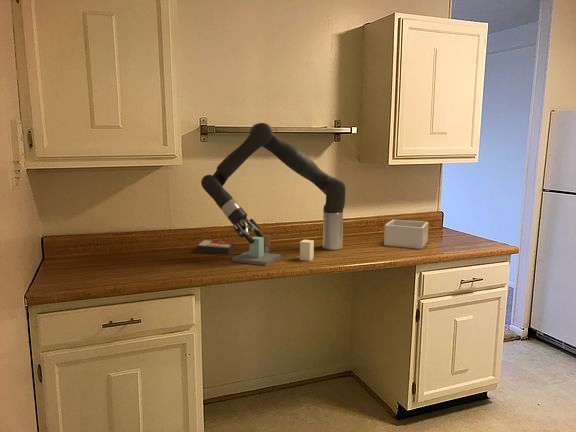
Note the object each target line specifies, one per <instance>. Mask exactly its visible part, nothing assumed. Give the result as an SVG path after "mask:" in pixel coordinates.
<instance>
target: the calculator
mask: <svg viewBox="0 0 576 432" xmlns="http://www.w3.org/2000/svg"><path fill="white" fill-rule="evenodd" d="M234 249H235V243H234V241H223V240H207V239H204V240H203V241H201V242H200V243H198V244H197V245H196V253H197V254H217V255H218V254H220V255H221V254H222V255H229V254H230V253H232V251H234Z"/></svg>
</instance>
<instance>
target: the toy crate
mask: <svg viewBox="0 0 576 432" xmlns="http://www.w3.org/2000/svg"><path fill="white" fill-rule="evenodd" d="M383 238H384V239H383V241H384V242H383V246H388V247H399V248H409V249H419V250H422V249H423V248H424V247H425V245H427V243H428V241H429V240H428V238H429V221H420V220H419V221H418V220H417V221H416V220H406V219H405V220H404V219H403V220H402V219H392V220H390V221H388V222H387V223H386V224H384V237H383Z"/></svg>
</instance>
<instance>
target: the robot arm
mask: <svg viewBox="0 0 576 432" xmlns="http://www.w3.org/2000/svg"><path fill="white" fill-rule="evenodd" d="M261 147H262V148H264V149H266V151H269V152H270V153H271V154H273V155H274V156H275V157H276V158H277V159H278V160H280V162H281V163H283V164H285V165H286V166H287V167H288V168H289V169H290V170H292V171H294V173H296V174H297V175H299V176H300V177H302V178H304V179H306V180H308V181H309V182H310V183H312V184H313V185H314V186H316V188H318V189H319V190H320V191H321V192H322V193H323V194H324V195H325V204H324V205H323V211H322V213H323V216H322V220H323V221H322V222H323V223H322V224H323V225H322V248H323V249H325V250H333V251H334V250H341V249H343V231H344V229H343V228H344V227H343V226H344V208H345V204H346V184H345V182H344V181H343V180H342V179H340V178H337V177H333V176H332V175H330V174H328V173H326V172H325V171H323V170H322V169H321V168H320V167H319V166H318V165H317V164H316V163H315V162H314V161H313V159H312V158H310V156H308V155H307V154H306V153H304V152H303V151H302V150H301V149H299V148H297V147H296V146H294V145H292V144H290V143H288V142H286V141H284V140H283V139H281V138H280V137H278V136H277V134H275V133H274V131H273V129H272V127H271V126H270V125H269V124H268V123H266V122H259V123H255V124H253V125H252V126H251V128H250V130H249V135H248V136H247V138H246V139H245V140H244V142H242V143H241V144H239V146H238V147H236V149H234V150H233V151H232V152H231V153H230V154H228V155H226V157H224V159H223V160H222V161H220V163H219V164H218V165H217V167H216V170H215V172H214V173H213V175H212V174H206V175H204V176H203V177H202V178H201V182H200V184H201V188H202V189H203V190H204V191H205V192H206V193H207V194H208V195H209V196H210V198H211V199H213V201H214V202H215V204H216V205H217V207H219V209H220V210H221V211H222V212H223V214H224V215H225V217H226V218H227V220H229V222H230V223H231V224H232V225H233V229H234V231H236V234H238V235H239V237H240V238H243V239H246V240H247V242H248V243H250V244H253V243H254V239H253V238H252V237H253V236H251V235H250V233H253V234H254V235H255V237H264V236H263V235H264V234H263V235H262V232H261V231H260V229H261V227H260V226H259V225H258V223H256V221H255V220H254V219H253V218H250V219H248V218H247V217H248V213H247V212H246V211H245V209H244V208H242V206H241V205H240V204H239V203H238V201H236V200H235V199H234V198H233V197H232V195H231V194H230V193H229V192H228V191H227V190H226V189H225V188H224V187H223V186H224V185H225V184H226V182H227V181H228V179H229V178H230V177H231V176H232V175H233V174H234V173H235V172H237V170H238V169H239V168H240V167H241V166H242V165H243V164H244V163H245V162H246V160H248V159H249V158H250V157H251V156H252V155H253V154H254V153H255V152H256V151H258V150H259V149H260V148H261ZM249 232H250V233H249Z"/></svg>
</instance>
